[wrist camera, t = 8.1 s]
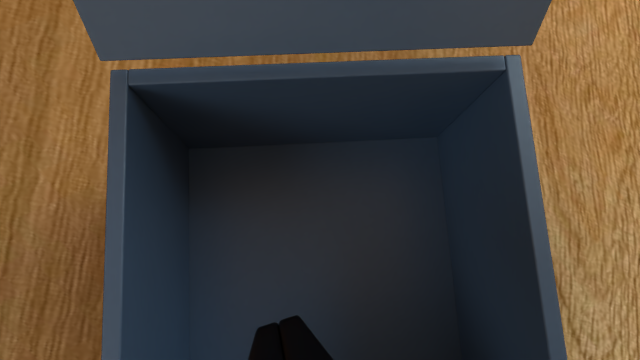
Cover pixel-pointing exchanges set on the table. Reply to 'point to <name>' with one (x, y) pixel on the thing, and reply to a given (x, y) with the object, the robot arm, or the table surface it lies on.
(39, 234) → the table surface
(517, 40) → the flap
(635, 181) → the table surface
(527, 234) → the carton
